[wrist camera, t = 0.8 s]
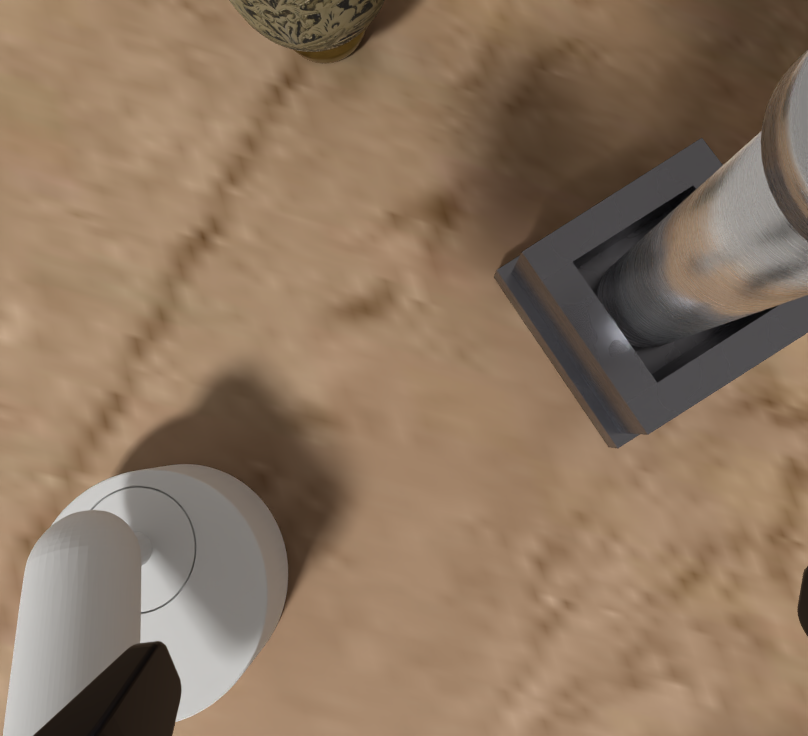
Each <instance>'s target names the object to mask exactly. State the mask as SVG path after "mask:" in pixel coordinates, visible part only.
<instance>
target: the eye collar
mask: <svg viewBox="0 0 808 736" xmlns="http://www.w3.org/2000/svg"><path fill="white" fill-rule="evenodd" d="M722 166H723V165H722V163H721V162H720V161H719V160H718V158H717V157H716V156H715V154H714V153H713V152H712V150H711V149H710V148H709V146H708V145H707V144H706V143H705V141H704V140H703V139H702V138H701V139H699V140H698V141H696V142H694V143H693V144H691V145H690V146H688V147H687V148H685V149H683V150H682V151H680V152H679V153H677V154H676V155H674V156H672V157H671V158H669V159H668V160H666V161H664V162H663V163H661V164H660V165H658V166H657V167H655V168H653V169H652V170H650V171H649V172H647V173H646V174H644V175H642V176H641V177H639V178H638V179H636V180H635V181H633V182H631V183H630V184H628V185H627V186H625V187H623V188H622V189H620V190H619V191H617V192H616V193H614V194H612V195H611V196H609V197H608V198H606V199H605V200H603V201H601V202H600V203H598V204H597V205H595V206H594V207H592V208H590V209H589V210H587V211H586V212H584V213H582V214H581V215H579V216H578V217H576V218H575V219H573V220H571V221H570V222H568V223H567V224H565V225H564V226H562V227H560V228H559V229H557V230H556V231H554V232H552V233H551V234H549V235H548V236H546V237H545V238H543V239H541V240H540V241H538V242H537V243H535V244H534V245H532V246H530V247H529V248H527V249H526V250H524V251H523V252H522V253H521V255H520V256H518V257H517V258H515V259H513V260H512V261H510V262H509V263H507V264H506V265H504V266H502V267H501V268H499V269H498V270H497V271H496V273H495V276H494V278H495V280H496V281H497V283H498V284H499V286H500V287H501V289H502V290H503V292H504V293H505V295H506V296H507V298H508V299H509V300H510V302H511V303H512V305H513V306H514V308H515V309H516V311H517V312H518V314H519V315H520V317H521V318H522V320H523V321H524V323H525V324H526V326H527V327H528V329H529V330H530V331H531V333H532V334H533V336H534V337H535V339H536V340H537V342H538V343H539V345H540V346H541V348H542V349H543V351H544V352H545V354H546V355H547V357H548V358H549V360H550V361H551V363H552V364H553V365H554V367H555V368H556V370H557V371H558V373H559V374H560V376H561V377H562V379H563V380H564V382H565V383H566V385H567V386H568V388H569V389H570V391H571V392H572V394H573V395H574V396H575V398H576V399H577V401H578V402H579V404H580V405H581V407H582V408H583V410H584V411H585V413H586V414H587V416H588V417H589V419H590V420H591V422H592V423H593V425H594V426H595V427H596V429H597V430H598V432H599V433H600V435H601V436H602V438H603V439H604V441H605V442H606V444H607V445H608V447H611V448H619V447H621V446H622V445H624V444H625V443H627V442H629V441H630V440H632V439H633V438H635V437H636V436H638V435H640V434H646V435H648V434H650V433H651V432H653V431H654V430H656V429H657V428H659V427H661V426H662V425H664V424H665V423H667V422H668V421H670V420H672V419H673V418H675V417H676V416H678V415H679V414H681V413H682V412H684V411H686V410H687V409H689V408H690V407H692V406H693V405H695V404H697V403H698V402H700V401H701V400H703V399H704V398H706V397H708V396H709V395H711V394H712V393H714V392H715V391H717V390H719V389H720V388H722V387H723V386H725V385H726V384H728V383H730V382H731V381H733V380H734V379H736V378H737V377H739V376H740V375H742V374H744V373H745V372H747V371H748V370H750V369H751V368H753V367H755V366H756V365H758V364H759V363H761V362H762V361H764V360H766V359H767V358H769V357H770V356H772V355H773V354H775V353H777V352H778V351H780V350H781V349H783V348H784V347H786V346H788V345H789V344H791V343H792V342H794V341H795V340H797V339H798V338H800V337H802V336H803V335H805V334H806V333H808V295H806V296H803V297H800V298H797V299H795V300H792V301H789V302H786V303H783V304H780V305H777V306H774V307H771V308H769V309H766V310H763V311H760V312H757V313H754V314H751V315H748V316H745V317H743V318H740V319H737V320H734V321H731V322H728V323H725V324H722V325H719V326H717V327H714V328H711V329H708V330H705V331H702V332H699V333H696V334H693V335H691V336H688V337H685V338H682V339H679V340H676V341H673V342H670V343H667V344H665V345H661V346H657V347H638V346H634V345H630V343H629V342H628V340H627V339H626V338H625V336H624V335H623V333H622V332H621V330H620V329H619V328H618V326H617V325H616V323H615V322H614V321H613V319H612V318H611V316H610V315H609V313H608V312H607V311H606V309H605V308H604V306H603V305H602V303H601V302H600V301H599V299H598V298H597V290H598V286H599V283H600V281H601V279H602V277H603V275H604V274H605V272H606V271H607V270H608V269H609V268H610V267H611V266H612V265H613V264H614V263H615V262H616V261H617V260H618V259H620V258H621V257H622V256H623V255H624V254H625V253H626V252H627V251H628V250H630V249H631V248H632V247H633V246H634V245H635V244H636V243H637V242H638V241H640V240H641V239H642V238H643V237H644V236H645V235H646V234H647V233H648V232H650V231H651V230H652V229H653V228H654V227H655V226H656V225H657V224H658V223H660V222H661V221H662V220H663V219H664V218H665V217H666V216H667V215H668V214H670V213H671V212H672V211H673V210H674V209H675V208H676V207H677V206H678V205H680V204H681V203H682V202H683V201H684V200H685V199H686V198H687V197H688V196H690V195H691V194H692V193H693V192H694V191H695V190H696V189H697V188H698V187H700V186H701V185H702V184H703V183H704V182H705V181H706V180H707V179H708V178H710V177H711V176H712V175H713V174H714V173H715V172H716V171H717V170H718V169H720V168H721V167H722Z"/></svg>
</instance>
